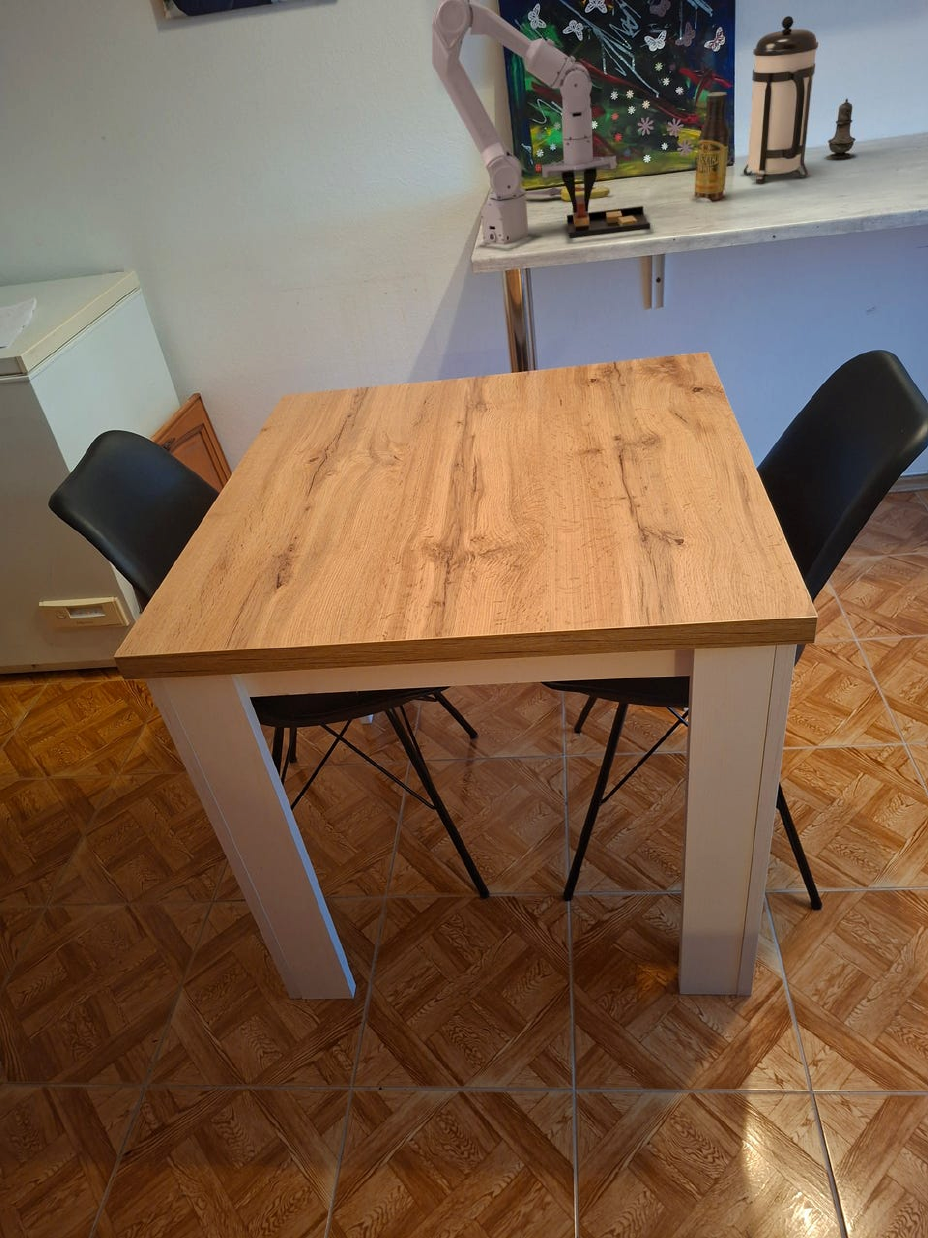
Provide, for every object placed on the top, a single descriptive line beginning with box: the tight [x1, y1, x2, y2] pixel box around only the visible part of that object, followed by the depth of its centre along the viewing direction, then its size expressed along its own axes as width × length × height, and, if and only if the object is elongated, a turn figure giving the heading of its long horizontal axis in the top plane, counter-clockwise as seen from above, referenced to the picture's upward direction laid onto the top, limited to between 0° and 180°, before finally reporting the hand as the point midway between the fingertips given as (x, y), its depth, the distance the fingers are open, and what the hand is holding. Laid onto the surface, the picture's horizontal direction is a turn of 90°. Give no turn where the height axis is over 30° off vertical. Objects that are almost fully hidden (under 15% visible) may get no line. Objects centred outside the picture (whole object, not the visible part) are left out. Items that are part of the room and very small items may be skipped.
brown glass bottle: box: [694, 91, 730, 202], centre depth 183 cm, size 6×6×20 cm
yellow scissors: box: [525, 183, 611, 202], centre depth 205 cm, size 8×3×25 cm
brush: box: [571, 195, 590, 231], centre depth 179 cm, size 3×10×5 cm, turn 177°
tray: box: [566, 205, 651, 239], centre depth 180 cm, size 16×14×2 cm
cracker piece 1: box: [606, 211, 622, 223], centre depth 181 cm, size 3×4×1 cm
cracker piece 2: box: [618, 216, 637, 226], centre depth 177 cm, size 3×4×1 cm
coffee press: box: [742, 15, 819, 185], centre depth 187 cm, size 17×16×30 cm
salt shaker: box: [827, 97, 856, 161], centre depth 199 cm, size 6×6×12 cm
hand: (580, 210), depth 179 cm, fingers closed on brush, 2 cm apart
